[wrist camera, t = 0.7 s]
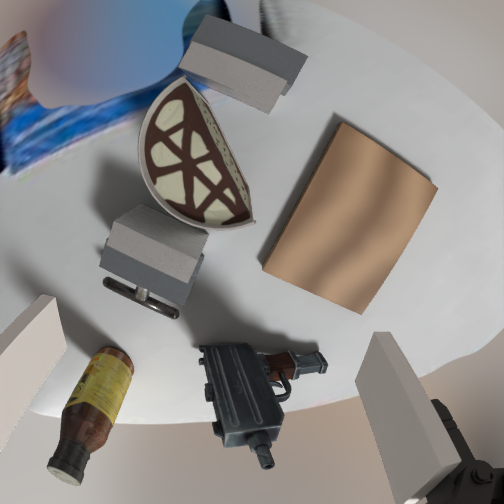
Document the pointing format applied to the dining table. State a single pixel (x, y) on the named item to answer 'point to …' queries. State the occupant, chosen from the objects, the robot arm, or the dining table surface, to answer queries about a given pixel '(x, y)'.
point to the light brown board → (350, 221)
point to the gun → (251, 393)
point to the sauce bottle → (91, 413)
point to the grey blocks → (165, 227)
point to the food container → (192, 162)
